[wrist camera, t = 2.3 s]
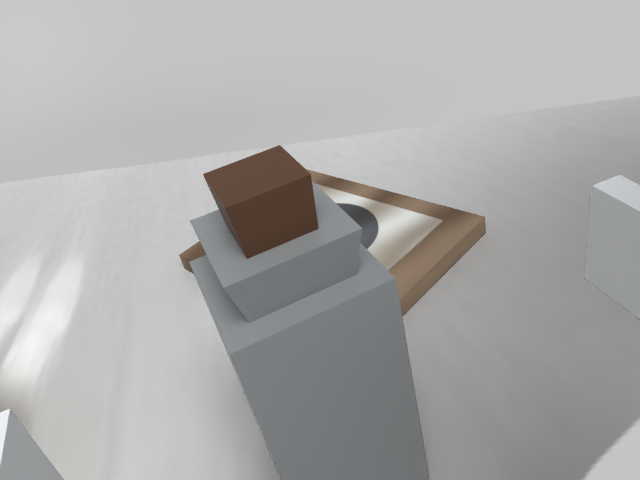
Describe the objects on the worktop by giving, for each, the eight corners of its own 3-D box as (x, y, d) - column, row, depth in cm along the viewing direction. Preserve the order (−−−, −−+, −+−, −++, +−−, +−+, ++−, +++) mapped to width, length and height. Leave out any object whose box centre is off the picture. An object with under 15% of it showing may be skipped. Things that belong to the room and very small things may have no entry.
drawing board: (485, 232, 45) (484, 212, 44) (357, 361, 36) (352, 340, 35) (309, 182, 58) (305, 165, 57) (185, 268, 49) (177, 251, 48)
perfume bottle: (266, 444, 33) (151, 174, 23) (368, 393, 34) (303, 118, 24) (311, 548, 27) (186, 252, 17) (429, 481, 29) (378, 174, 19)
